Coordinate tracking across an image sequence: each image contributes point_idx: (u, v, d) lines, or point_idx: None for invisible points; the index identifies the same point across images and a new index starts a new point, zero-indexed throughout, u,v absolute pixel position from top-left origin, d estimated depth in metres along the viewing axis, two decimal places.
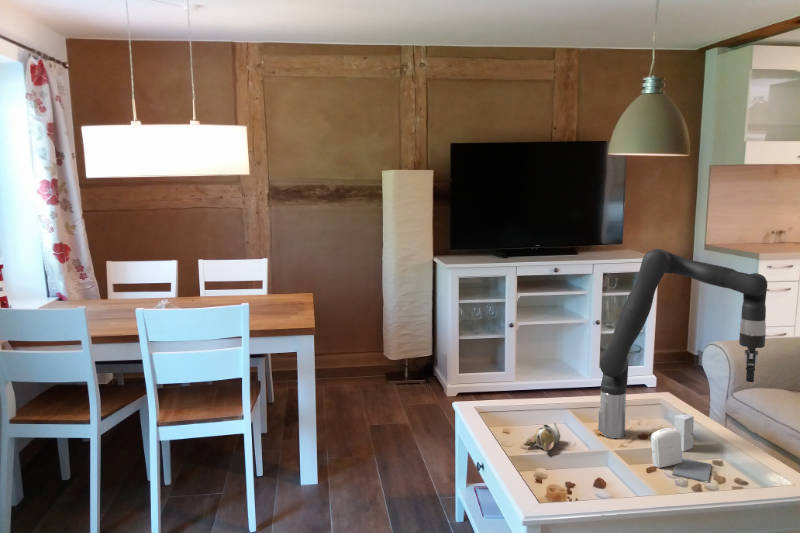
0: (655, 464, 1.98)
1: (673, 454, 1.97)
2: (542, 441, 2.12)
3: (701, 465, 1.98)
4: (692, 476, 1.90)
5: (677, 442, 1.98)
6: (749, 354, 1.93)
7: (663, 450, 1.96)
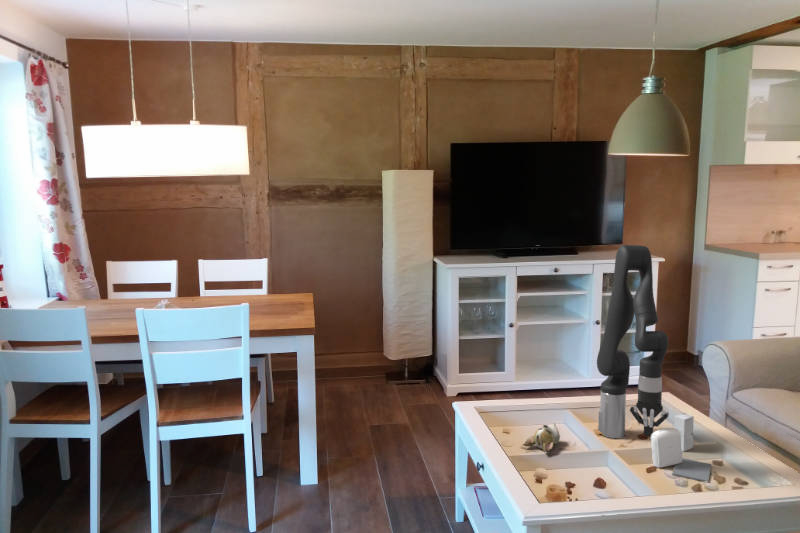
0: (655, 464, 1.98)
1: (673, 454, 1.98)
2: (541, 441, 2.12)
3: (701, 465, 1.98)
4: (692, 476, 1.90)
5: (677, 442, 1.98)
6: None
7: (663, 450, 1.97)
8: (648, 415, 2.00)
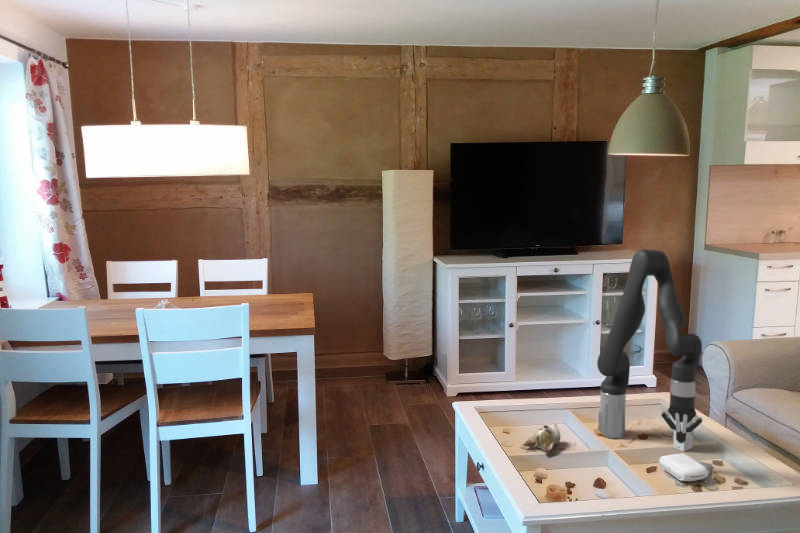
0: (660, 463, 1.95)
1: None
2: (541, 442, 2.11)
3: None
4: None
5: None
6: (701, 421, 1.92)
7: None
8: (681, 420, 1.95)
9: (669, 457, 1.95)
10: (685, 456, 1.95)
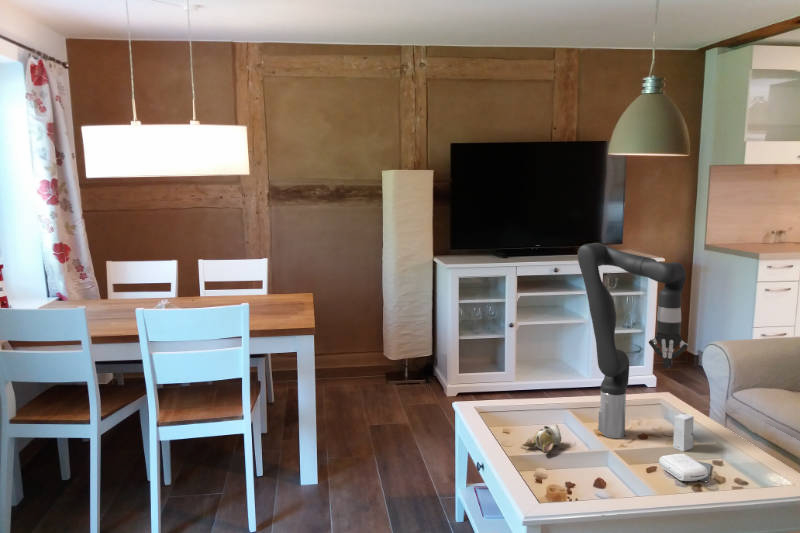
0: (660, 463, 1.95)
1: None
2: (541, 442, 2.11)
3: None
4: None
5: None
6: None
7: None
8: (667, 346, 2.02)
9: (670, 457, 1.95)
10: (685, 456, 1.95)
